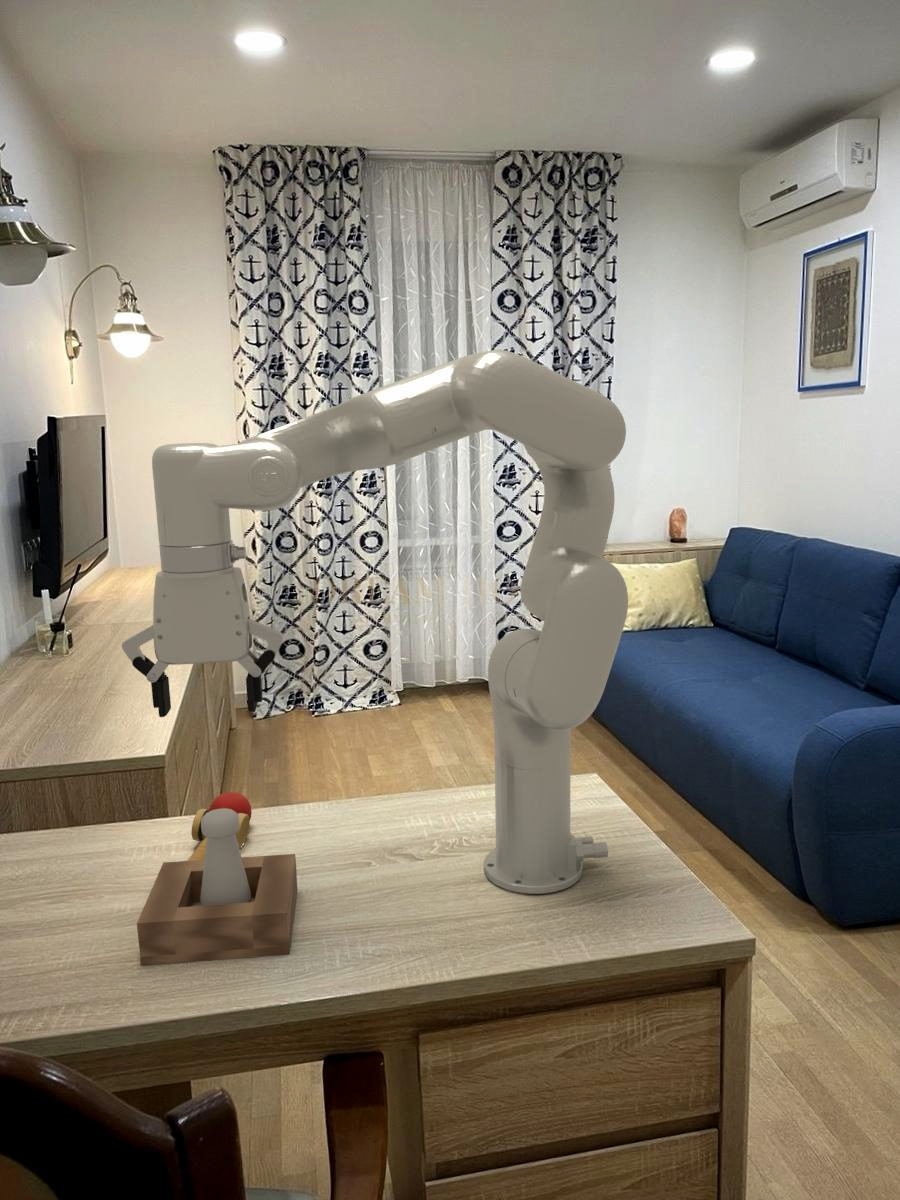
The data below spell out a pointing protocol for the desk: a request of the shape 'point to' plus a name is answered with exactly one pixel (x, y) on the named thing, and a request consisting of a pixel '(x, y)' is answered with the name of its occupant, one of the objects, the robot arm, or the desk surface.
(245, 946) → the socket block
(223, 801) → the kendama
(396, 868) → the desk surface
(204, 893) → the grey rounded peg
